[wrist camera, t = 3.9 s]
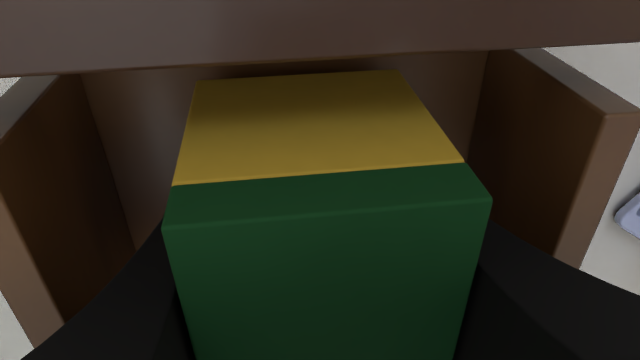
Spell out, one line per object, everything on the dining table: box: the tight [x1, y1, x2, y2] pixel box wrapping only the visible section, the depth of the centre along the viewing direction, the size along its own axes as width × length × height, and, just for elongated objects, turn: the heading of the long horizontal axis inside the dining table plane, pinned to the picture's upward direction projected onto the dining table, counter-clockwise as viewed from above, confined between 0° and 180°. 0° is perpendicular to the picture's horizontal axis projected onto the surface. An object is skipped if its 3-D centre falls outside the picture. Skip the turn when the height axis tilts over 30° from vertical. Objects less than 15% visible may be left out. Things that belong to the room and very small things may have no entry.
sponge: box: [161, 69, 493, 360], centre depth 10 cm, size 6×4×5 cm
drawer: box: [0, 0, 640, 349], centre depth 10 cm, size 16×13×6 cm
